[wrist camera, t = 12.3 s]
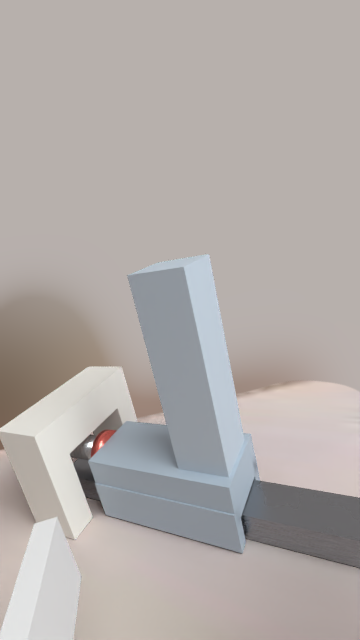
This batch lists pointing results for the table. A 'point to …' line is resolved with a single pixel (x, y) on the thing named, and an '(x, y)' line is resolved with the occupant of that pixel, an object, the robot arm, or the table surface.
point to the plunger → (91, 445)
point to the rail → (288, 518)
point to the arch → (64, 442)
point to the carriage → (182, 418)
